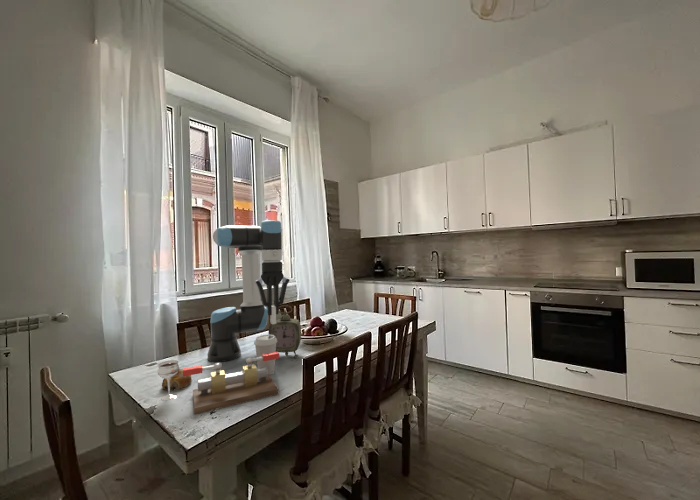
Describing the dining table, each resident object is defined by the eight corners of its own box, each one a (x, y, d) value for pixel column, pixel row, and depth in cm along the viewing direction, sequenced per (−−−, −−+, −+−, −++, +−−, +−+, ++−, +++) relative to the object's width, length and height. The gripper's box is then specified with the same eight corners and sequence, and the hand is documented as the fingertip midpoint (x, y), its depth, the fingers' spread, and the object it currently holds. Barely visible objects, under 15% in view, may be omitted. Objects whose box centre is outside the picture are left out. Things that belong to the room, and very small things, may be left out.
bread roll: (192, 394, 122) (200, 372, 125) (168, 392, 114) (177, 369, 117) (178, 388, 127) (185, 368, 130) (153, 387, 119) (162, 365, 122)
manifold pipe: (197, 391, 111) (197, 370, 111) (265, 377, 123) (265, 358, 122) (198, 397, 107) (197, 375, 107) (268, 381, 119) (268, 361, 119)
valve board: (192, 395, 113) (192, 389, 113) (268, 379, 126) (268, 374, 126) (194, 414, 100) (194, 408, 100) (278, 394, 112) (278, 388, 112)
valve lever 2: (246, 365, 116) (246, 359, 116) (245, 362, 118) (245, 357, 118) (279, 358, 122) (279, 353, 122) (277, 356, 124) (277, 351, 124)
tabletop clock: (268, 360, 147) (267, 307, 147) (273, 353, 156) (272, 303, 156) (299, 359, 147) (298, 306, 147) (302, 353, 156) (301, 303, 156)
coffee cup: (271, 378, 127) (271, 341, 127) (250, 376, 129) (249, 340, 128) (281, 369, 136) (281, 334, 136) (261, 367, 138) (260, 333, 138)
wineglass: (154, 398, 111) (153, 364, 111) (173, 391, 117) (173, 358, 117) (164, 403, 107) (163, 368, 107) (183, 395, 113) (182, 362, 113)
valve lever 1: (221, 367, 114) (221, 361, 114) (222, 369, 112) (221, 364, 112) (183, 374, 108) (182, 368, 108) (182, 376, 106) (182, 370, 106)
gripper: (256, 262, 112) (258, 327, 113) (291, 261, 119) (292, 323, 119) (252, 261, 119) (253, 323, 119) (285, 260, 125) (287, 319, 126)
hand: (273, 323), depth 119 cm, fingers closed
